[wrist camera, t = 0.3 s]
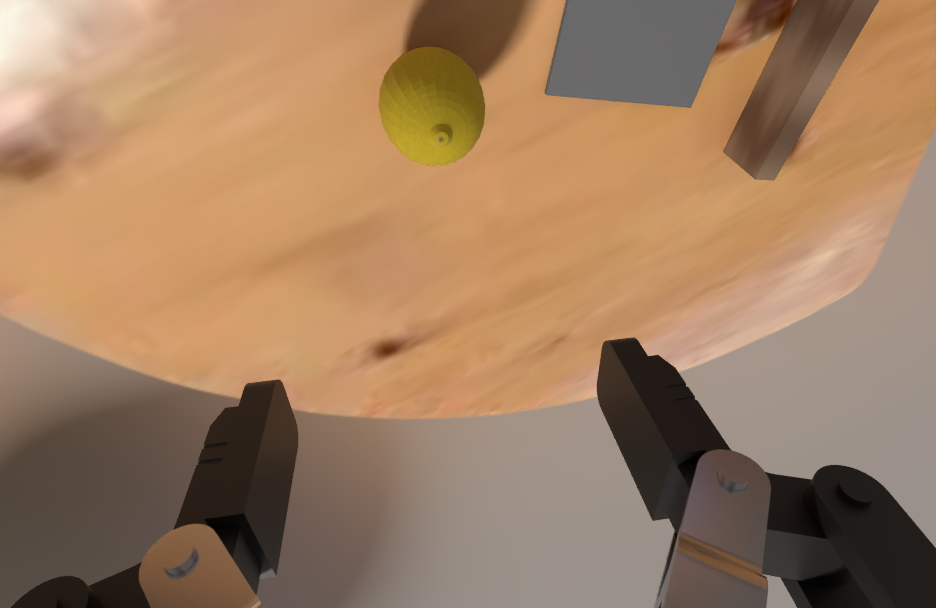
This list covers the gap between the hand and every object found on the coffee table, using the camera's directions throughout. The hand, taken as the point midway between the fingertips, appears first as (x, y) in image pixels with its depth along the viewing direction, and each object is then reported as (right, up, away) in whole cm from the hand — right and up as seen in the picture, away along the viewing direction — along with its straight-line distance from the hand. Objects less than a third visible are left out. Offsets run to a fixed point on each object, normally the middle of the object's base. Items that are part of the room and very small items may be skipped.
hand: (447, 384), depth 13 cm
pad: (+11, +19, +17) cm, 27 cm away
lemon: (-2, +15, +17) cm, 23 cm away
